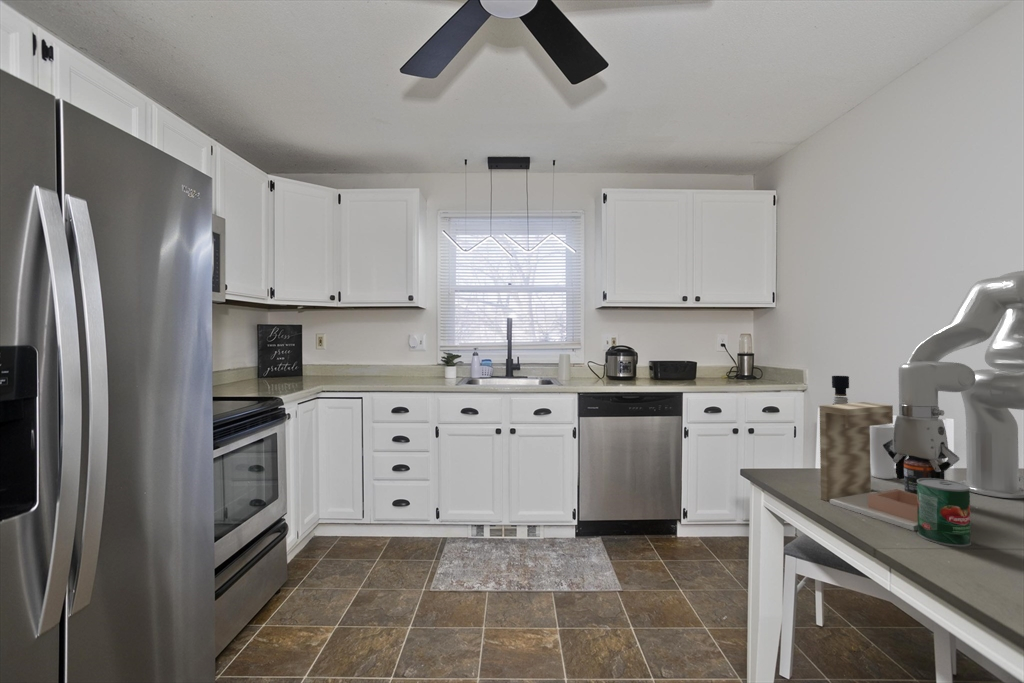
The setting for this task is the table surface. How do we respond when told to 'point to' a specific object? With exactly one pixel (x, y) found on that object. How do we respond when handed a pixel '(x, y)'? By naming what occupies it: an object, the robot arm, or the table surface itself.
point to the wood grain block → (848, 446)
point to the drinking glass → (881, 451)
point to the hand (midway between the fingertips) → (919, 481)
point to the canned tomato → (943, 511)
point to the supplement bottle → (915, 472)
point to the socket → (884, 506)
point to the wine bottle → (840, 388)
